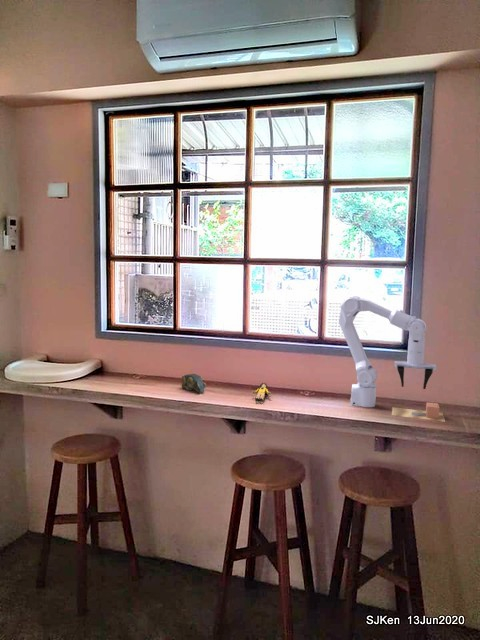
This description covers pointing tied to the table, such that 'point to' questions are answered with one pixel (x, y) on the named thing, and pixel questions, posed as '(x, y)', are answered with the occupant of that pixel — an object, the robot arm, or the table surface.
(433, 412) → the block
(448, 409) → the table surface
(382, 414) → the table surface
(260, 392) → the toy
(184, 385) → the sculpture
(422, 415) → the board
